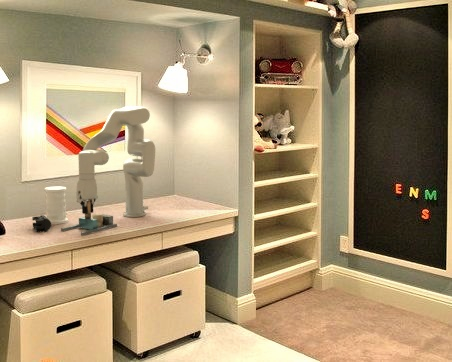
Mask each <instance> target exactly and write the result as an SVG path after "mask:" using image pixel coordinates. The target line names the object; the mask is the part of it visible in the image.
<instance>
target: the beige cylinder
mask: <svg viewBox="0 0 452 362" xmlns="http://www.w3.org/2000/svg"><path fill="white" fill-rule="evenodd" d="M102 214H103V213H92V214H91V218H92V219H97V224H98V228H100V227H104V226H103V215H102Z"/></svg>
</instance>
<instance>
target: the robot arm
mask: <svg viewBox="0 0 452 362" xmlns="http://www.w3.org/2000/svg"><path fill="white" fill-rule="evenodd" d="M150 116H151V114H150V111H149V108H147V107H145V106H124V107H122V108H118V109H117V108H115V109H113V110H112V111H111V112H110V114H109V115H108V117H107V119H106V121H105V124H104V125H103V127H102V129H101V130H100V131H99V132H97V133H96V134H95V135H94V136H91V138H89V139H88V141H87V142H86V143H85V145H84V147H83V149H82V151H80V152H78V156H77V157H78V179H77V181H76V182H77V183H76V192H75V193H76V197H75V198H76V203H79V205H80V206H81V212H82V214H84V215H85V214H88V207H87V206H86V205H87V200H90V201H91V214H94V205H95V202H96V200H97V199H99V196H98V187H97V181H96V177H95V176H96V173H95V172H96V171H95V166H104V165H106V164H107V163H108V162H109V160H110V155H109V153H108V152H106V150H101V149H99V148H100V147H101V146H104V145H106V144H109V143H111V142H114V141H115V140H117V137H118V136H119V134H120V132H121V130H122V128H123V127H125V126H126V127H127V144H126V145H127V146H126V148H127V153H128V155H130V156H133V157H142V158H127V159H126V160H125V161H124V162H123V164H122V165H123V166H122V169H123V174H124V181H125V184H124V185H125V186H124V187H125V191H124V193H125V211H124V212H122V213H123V214H122V215H123V216H124V217H126V218H140V217H145V216H146V215H147V213H146V211H145V210H148V209H149V206H148V205H144V184H143V180H142V178H149V177H151V176H153V174H154V171H155V163H156V146H155V143H154V141H152V140H150V139H144V138H145V134H144V133H145V131H144V127H143V125H142V124H145V123H147V122H148V121H149V119H150Z"/></svg>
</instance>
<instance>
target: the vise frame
mask: <svg viewBox="0 0 452 362" xmlns="http://www.w3.org/2000/svg"><path fill="white" fill-rule="evenodd" d="M101 214H102V215H103V227H99V228H96V229H92V230H89V229H87V230H86V231H85V230H84V231H82V232H80V235H81V236H86V235H89V234H93V233H97V232H101V231H104V230H108V229H112V228H115V227H118V224H117V223H114V215H110V214H104V213H101ZM77 228H79V223H78V224H74V225H70V226H65V227H61V228H60V231H61V232H65V231H70V230H74V229H77Z"/></svg>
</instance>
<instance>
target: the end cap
mask: <svg viewBox="0 0 452 362" xmlns="http://www.w3.org/2000/svg"><path fill="white" fill-rule="evenodd" d="M31 221H35V222H32V227H33V228H32V230H33V231H34V232H35V233H45V232H47V231H48V230H50V229H51V226H52V224H51V221H50V220H49V219H48V218H47V215H44V214H40V215H38V216H32V220H31Z"/></svg>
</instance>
